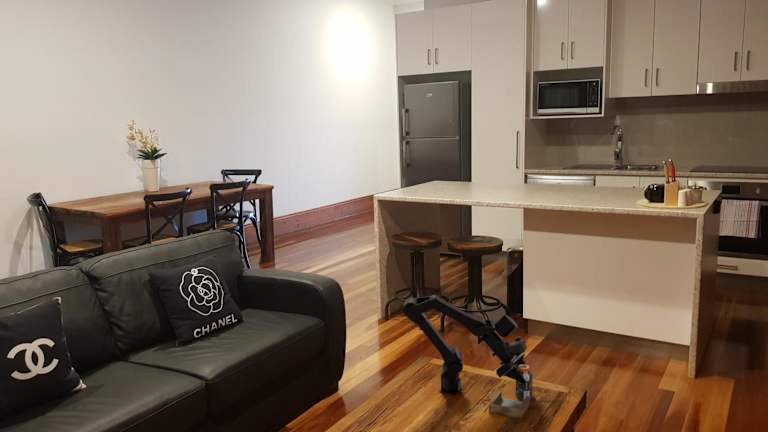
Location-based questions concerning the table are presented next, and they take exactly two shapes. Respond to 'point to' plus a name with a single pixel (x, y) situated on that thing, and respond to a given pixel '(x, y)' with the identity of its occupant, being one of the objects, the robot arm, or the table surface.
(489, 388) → the table surface
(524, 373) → the pill bottle
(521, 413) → the box
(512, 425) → the table surface
